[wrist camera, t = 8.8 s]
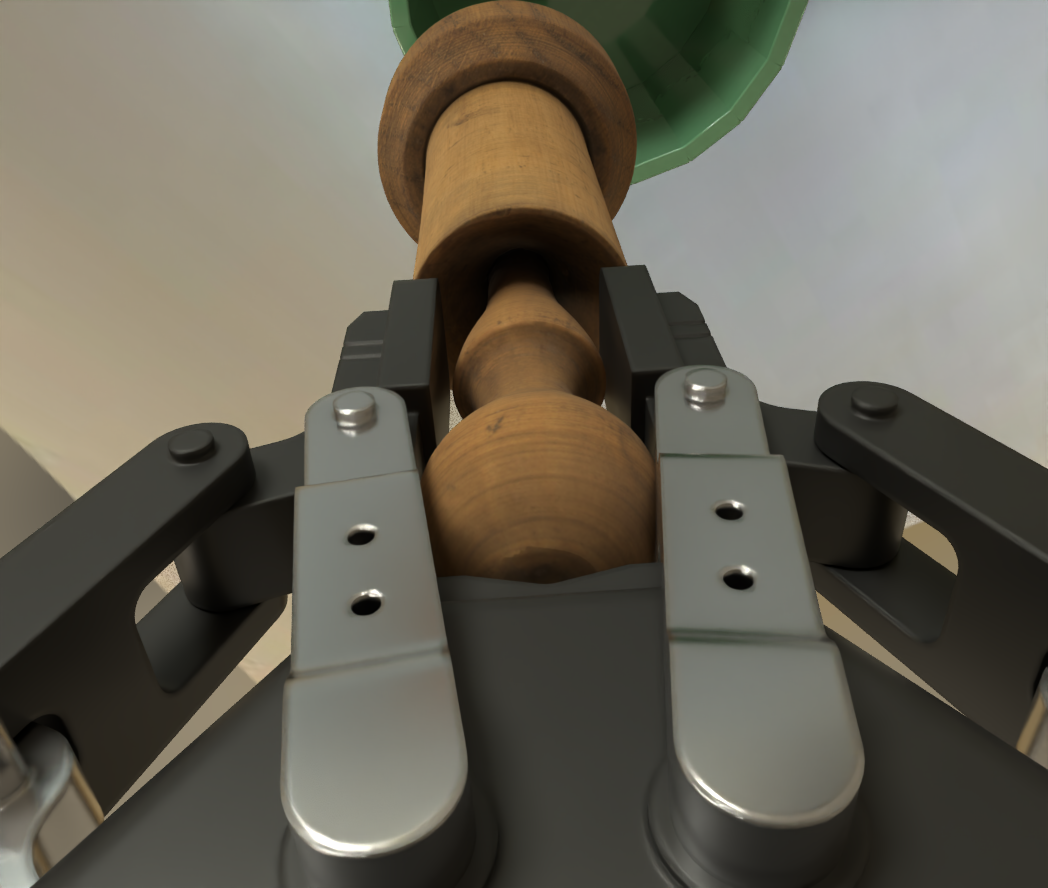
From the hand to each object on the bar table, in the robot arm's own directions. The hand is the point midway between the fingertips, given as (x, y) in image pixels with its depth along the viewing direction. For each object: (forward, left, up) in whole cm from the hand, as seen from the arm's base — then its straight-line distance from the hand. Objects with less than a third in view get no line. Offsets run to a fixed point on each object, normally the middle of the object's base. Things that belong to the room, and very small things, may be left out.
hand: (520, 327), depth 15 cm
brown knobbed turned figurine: (0, 0, -12) cm, 12 cm away
